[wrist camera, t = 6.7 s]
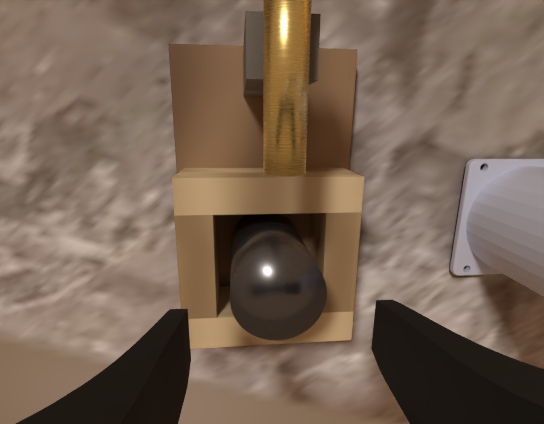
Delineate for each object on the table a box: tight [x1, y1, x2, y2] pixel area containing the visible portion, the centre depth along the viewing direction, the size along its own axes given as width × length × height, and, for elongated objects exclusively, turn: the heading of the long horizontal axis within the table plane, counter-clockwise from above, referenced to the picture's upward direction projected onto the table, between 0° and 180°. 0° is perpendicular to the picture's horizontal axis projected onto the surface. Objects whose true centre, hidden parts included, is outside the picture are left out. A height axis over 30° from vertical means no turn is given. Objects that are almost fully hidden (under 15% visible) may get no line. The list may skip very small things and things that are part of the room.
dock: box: [169, 11, 364, 349], centre depth 17 cm, size 10×17×8 cm, turn 179°
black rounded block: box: [230, 214, 327, 341], centre depth 17 cm, size 4×4×7 cm
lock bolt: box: [263, 0, 312, 176], centre depth 9 cm, size 2×9×2 cm, turn 179°
